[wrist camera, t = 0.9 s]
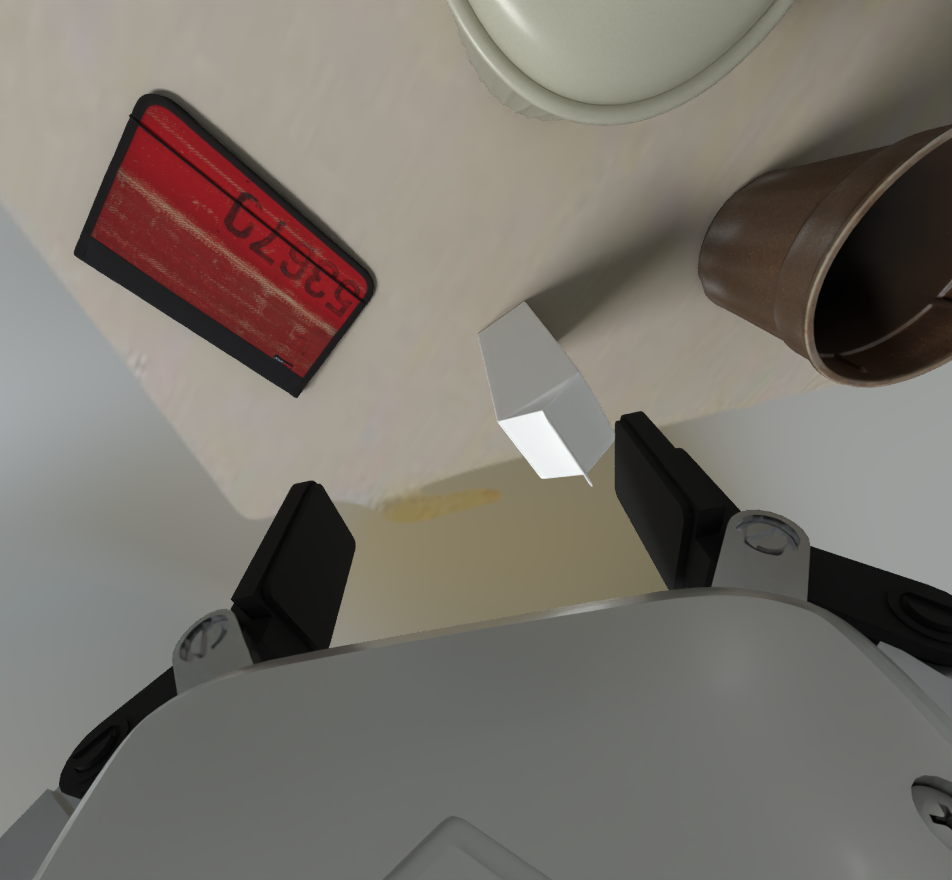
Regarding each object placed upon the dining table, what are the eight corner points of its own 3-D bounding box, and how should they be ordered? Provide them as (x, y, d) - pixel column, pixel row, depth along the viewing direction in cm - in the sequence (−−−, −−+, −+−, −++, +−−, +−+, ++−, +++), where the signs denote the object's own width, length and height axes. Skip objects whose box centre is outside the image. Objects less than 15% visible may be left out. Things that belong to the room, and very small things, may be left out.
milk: (506, 375, 42) (550, 512, 24) (476, 333, 39) (500, 451, 21) (552, 345, 40) (639, 467, 22) (525, 298, 38) (598, 394, 19)
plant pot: (886, 139, 32) (1203, 93, 19) (800, 324, 41) (973, 384, 28) (708, 140, 31) (904, 92, 18) (658, 329, 40) (765, 392, 27)
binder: (295, 400, 40) (67, 256, 31) (301, 392, 42) (89, 254, 33) (382, 283, 35) (138, 72, 26) (385, 280, 37) (159, 83, 28)
